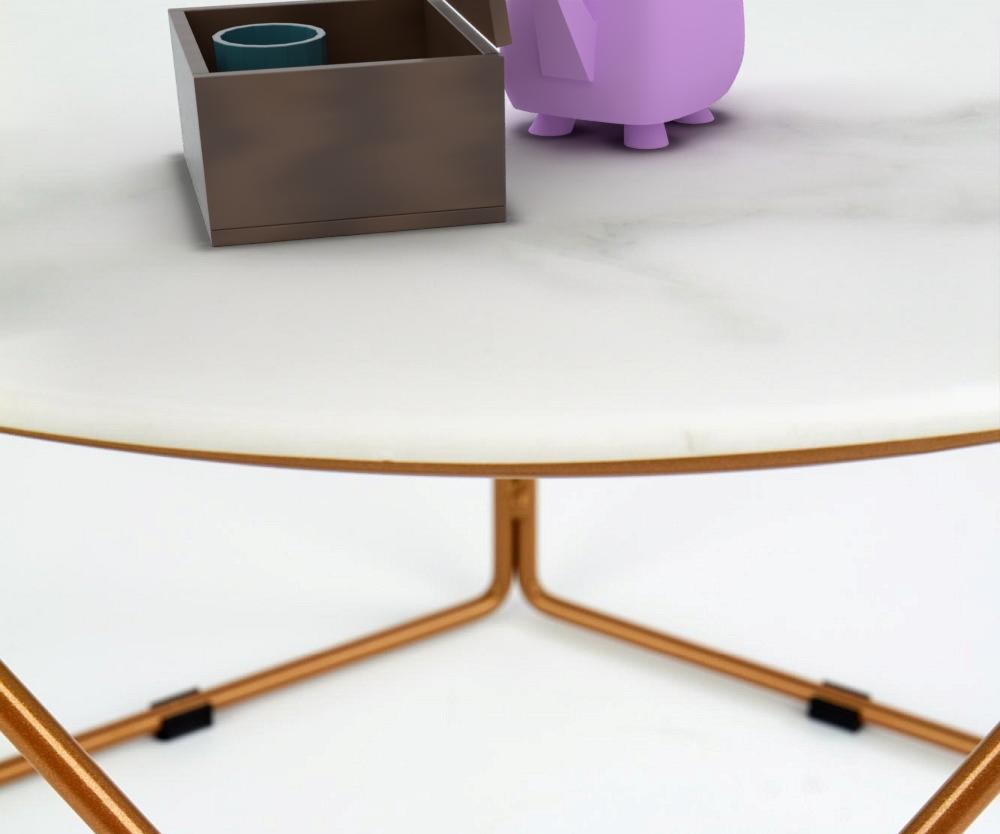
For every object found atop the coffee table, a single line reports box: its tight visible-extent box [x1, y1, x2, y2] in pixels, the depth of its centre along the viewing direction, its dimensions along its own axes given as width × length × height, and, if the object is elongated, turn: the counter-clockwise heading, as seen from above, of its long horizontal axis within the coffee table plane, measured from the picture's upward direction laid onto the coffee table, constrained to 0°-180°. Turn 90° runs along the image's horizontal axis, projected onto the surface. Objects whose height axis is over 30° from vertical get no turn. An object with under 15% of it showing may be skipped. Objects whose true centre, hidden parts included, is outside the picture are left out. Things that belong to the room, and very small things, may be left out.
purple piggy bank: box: [498, 0, 746, 150], centre depth 97 cm, size 20×12×13 cm, turn 150°
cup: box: [212, 23, 328, 73], centre depth 88 cm, size 6×6×7 cm
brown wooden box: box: [167, 0, 507, 248], centre depth 88 cm, size 15×17×8 cm
